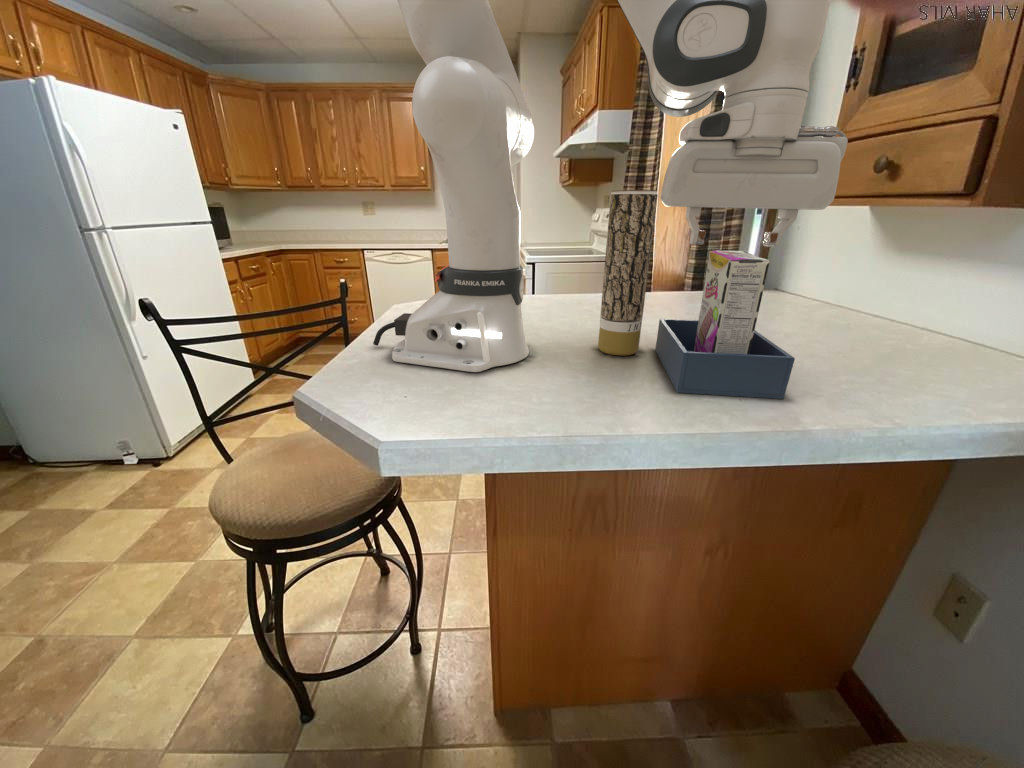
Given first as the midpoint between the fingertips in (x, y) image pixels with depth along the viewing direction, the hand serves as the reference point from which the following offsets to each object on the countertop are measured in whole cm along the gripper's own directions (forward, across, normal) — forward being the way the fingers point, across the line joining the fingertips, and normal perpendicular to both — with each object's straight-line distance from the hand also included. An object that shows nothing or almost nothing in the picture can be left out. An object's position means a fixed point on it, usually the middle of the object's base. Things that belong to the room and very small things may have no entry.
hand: (732, 245), depth 57 cm
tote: (+18, -1, 0) cm, 18 cm away
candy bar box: (+18, -1, 0) cm, 18 cm away
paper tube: (+18, +12, -8) cm, 24 cm away
